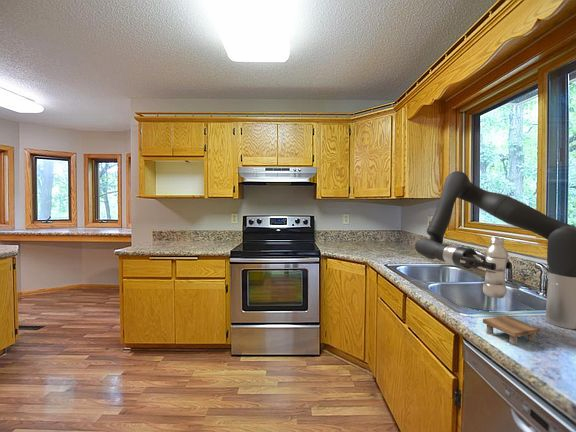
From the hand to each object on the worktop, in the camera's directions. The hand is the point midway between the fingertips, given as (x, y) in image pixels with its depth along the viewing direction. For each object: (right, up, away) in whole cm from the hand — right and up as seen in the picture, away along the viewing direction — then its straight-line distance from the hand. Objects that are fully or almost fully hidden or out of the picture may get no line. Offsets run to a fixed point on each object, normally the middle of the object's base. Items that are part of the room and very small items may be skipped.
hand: (502, 266), depth 94 cm
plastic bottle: (-1, -11, +3) cm, 11 cm away
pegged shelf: (-1, -21, -4) cm, 22 cm away
